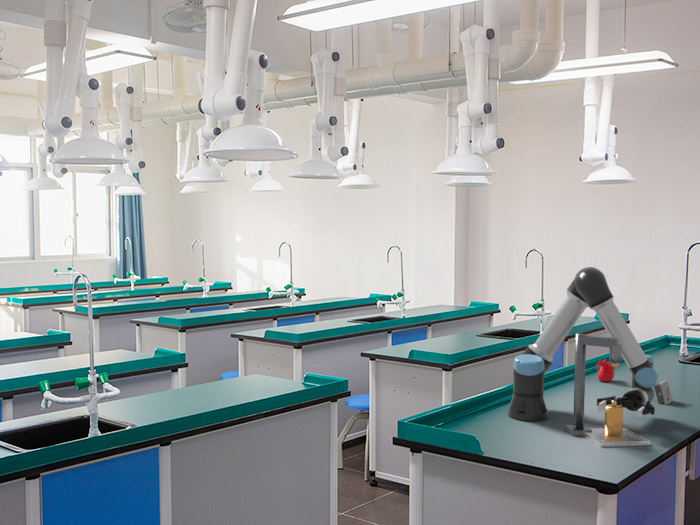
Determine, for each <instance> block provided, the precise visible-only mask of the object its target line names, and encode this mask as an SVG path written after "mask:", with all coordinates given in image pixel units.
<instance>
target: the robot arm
mask: <svg viewBox="0 0 700 525" xmlns="http://www.w3.org/2000/svg"><path fill="white" fill-rule="evenodd" d="M566 294H567V295H566V297H565V299H564V300H563V302H562V303H561V305H559V307H558V309H557V310H556V311H555V314H553V316H552V318H551V319H550V320H549V322H548V324H547V325H546V326H545V328H544V329H543V331H542V332H541V334H540V335H539V336H538V338H537V339H536V341H535V342H534V343H532V344H528V346H527V347H526V349H525V350H524V351H523V353H522V354H519V355H517V356H515V358H514V359H513V363H512V368H513V373H512V374H513V376H512V378H513V382H512V398H511V400H510V403H509V404H508V408H507V415H508V416H509V417H510V418H512V419H515V420H520V421H526V422H527V421H528V422H539V421H545V420H547V419H548V416H549V415H548V414H549V413H548V409H547V405H546V402H545V398H544V393H545V392H544V389H545V387H544V386H545V374H546V373H547V371H548V370H549V368H550V367H551V366H552V365H553V363H554V355H555V354H556V352H557V351H558V349H559V347H560V346H561V344H562V343H563V342H564V340H565V339H566V337H567V336H568V335H569V333H570V332H571V331H572V329H573V327H574V326H575V325H576V323H577V322H578V320H579V319H580V317H581V316H582V315H583V313H584V312H585V310H586V309H587V308H589V309H590V310H592V311H594V312H595V313H596V314H595V315H596V316H597V317H598V319H599V320H600V322H601V324H602V326H603V327H604V329H605V330H606V331H607V332H606V333H608V336H609V338H618V344H621V345H622V358H623V360H624V362H625V364H626V366H627V367H628V369H629V371H630V372H631V389H629V390H628V391H626V392H625V393H624V394H623V396H622V397H616V395H612V396H607V397H600V398H599V397H598V398H596V406H598V410H597V411H598V412H602V411H603V410H605V405H612V401H617V405H619V406H622V407H623V408H625V409H626V410H628V411H630V412H636V411H637V418H639V419H640V418H641V417H643V416H645V415H649V414H650V415H652V416H654V415H655V409H656V408H655V407H654V405H653V404H652V403H651V402H652V401H653V399H654V398H655V395H656V392H655V389H654V385H656V384H657V383H658V378H659V377H658V373H657V372H656V370H655V368H654V357H653V356H652V355H649V354H645V352H644V350H643V349H642V347H641V345H640V344H639V342H638V340H637V339H636V337H635V336H634V334H633V332H632V331H631V329H630V327H629V325H628V324H627V322H626V321H625V319H624V318H623V315H622V314H621V312H620V310H619V308H618V307H617V305H616V304H615V302H614V298H615V297H614V295H613V293H612V291H611V289H610V287H609V284H608V281H607V279H606V275H605V274H604V273H603V271H601V270H600V269H598V268H596V267H592V266H590V267H584V268H582V269H580V270H579V271H578V272H577V273H576V274H575V277H574V279H573V280H572V282H571V283H570V284H569V286H568V288H567V289H566Z"/></svg>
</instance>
